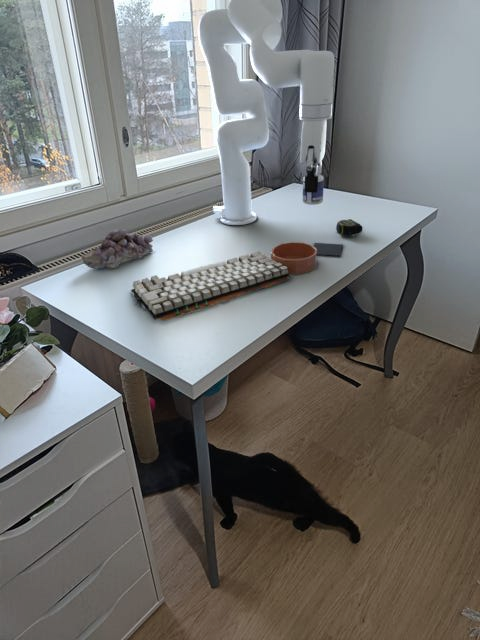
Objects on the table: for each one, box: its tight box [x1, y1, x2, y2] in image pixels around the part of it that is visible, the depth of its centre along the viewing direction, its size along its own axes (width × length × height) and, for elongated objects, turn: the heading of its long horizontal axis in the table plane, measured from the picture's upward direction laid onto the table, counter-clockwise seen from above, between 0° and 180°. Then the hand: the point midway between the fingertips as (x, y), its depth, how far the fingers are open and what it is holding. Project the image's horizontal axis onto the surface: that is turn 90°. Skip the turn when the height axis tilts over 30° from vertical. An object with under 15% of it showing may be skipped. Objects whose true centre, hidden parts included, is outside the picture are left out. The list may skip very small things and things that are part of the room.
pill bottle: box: [302, 166, 325, 206], centre depth 115 cm, size 5×5×9 cm
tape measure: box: [335, 218, 364, 237], centre depth 137 cm, size 7×7×4 cm
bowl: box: [270, 241, 318, 275], centre depth 121 cm, size 12×12×4 cm
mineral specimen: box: [81, 228, 154, 270], centre depth 128 cm, size 20×10×10 cm
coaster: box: [313, 242, 343, 257], centre depth 129 cm, size 8×8×1 cm
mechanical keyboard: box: [130, 250, 292, 322], centre depth 113 cm, size 38×19×3 cm, turn 120°
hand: (313, 187), depth 116 cm, fingers closed on pill bottle, 5 cm apart
